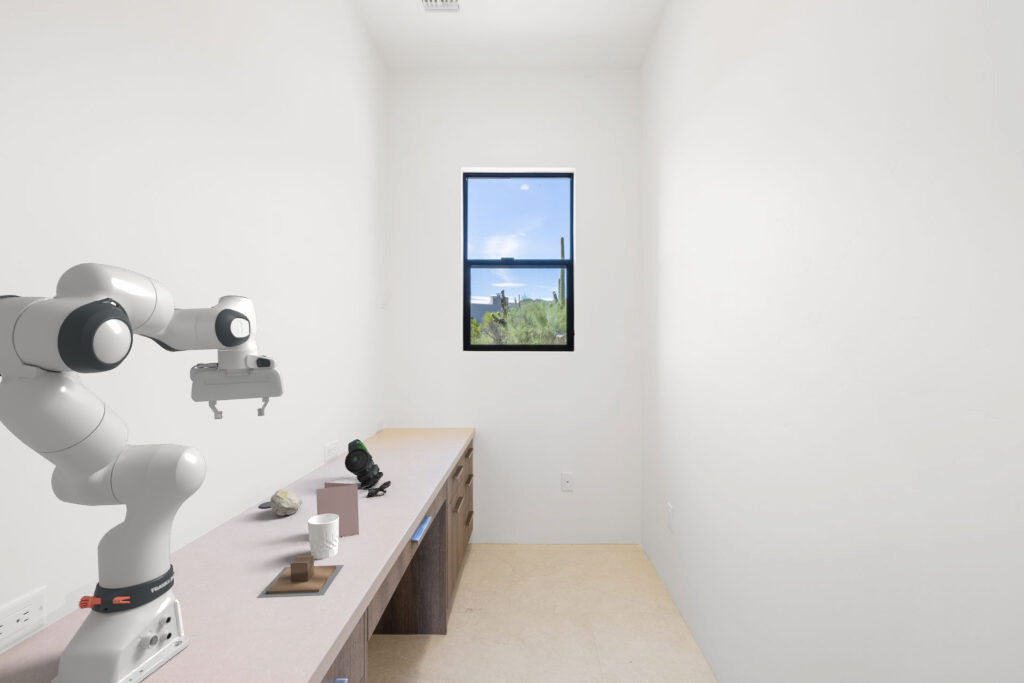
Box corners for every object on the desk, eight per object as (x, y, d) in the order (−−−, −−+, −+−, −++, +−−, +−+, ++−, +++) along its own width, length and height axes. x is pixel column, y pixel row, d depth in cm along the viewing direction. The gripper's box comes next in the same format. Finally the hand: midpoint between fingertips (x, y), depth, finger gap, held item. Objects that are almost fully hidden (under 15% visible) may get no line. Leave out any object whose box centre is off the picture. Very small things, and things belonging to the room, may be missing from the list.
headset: (368, 516, 190) (360, 465, 213) (401, 498, 191) (389, 449, 215) (345, 488, 180) (339, 437, 203) (380, 470, 181) (370, 421, 205)
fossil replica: (296, 506, 179) (266, 515, 172) (293, 483, 179) (263, 491, 172) (308, 511, 169) (277, 522, 163) (305, 487, 169) (273, 496, 163)
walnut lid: (319, 591, 115) (318, 569, 115) (266, 594, 115) (265, 571, 115) (336, 567, 127) (335, 547, 127) (288, 569, 127) (287, 549, 127)
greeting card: (360, 533, 151) (358, 483, 151) (346, 543, 144) (344, 490, 144) (327, 530, 154) (326, 481, 154) (311, 539, 147) (310, 488, 147)
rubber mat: (323, 597, 114) (323, 595, 114) (256, 599, 114) (256, 597, 114) (344, 566, 129) (343, 564, 129) (284, 569, 129) (284, 567, 129)
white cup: (329, 562, 132) (328, 524, 132) (302, 561, 133) (301, 523, 133) (345, 550, 139) (344, 514, 139) (319, 548, 141) (318, 512, 141)
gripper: (186, 364, 119) (188, 422, 119) (282, 360, 126) (283, 415, 126) (192, 363, 124) (194, 419, 125) (283, 359, 132) (285, 412, 132)
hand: (240, 417), depth 125 cm, fingers open, 8 cm apart
